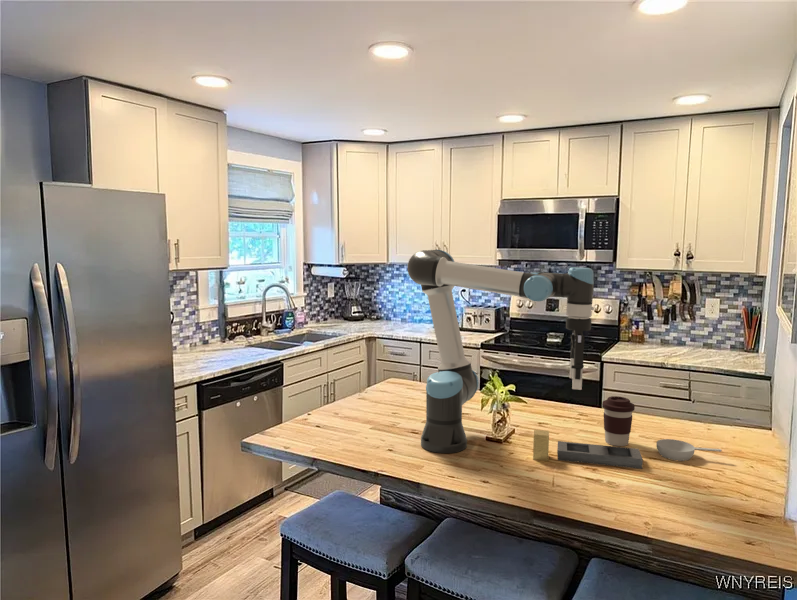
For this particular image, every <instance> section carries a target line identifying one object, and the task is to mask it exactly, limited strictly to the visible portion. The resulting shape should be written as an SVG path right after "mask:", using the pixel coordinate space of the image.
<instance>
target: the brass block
mask: <svg viewBox="0 0 797 600" xmlns="http://www.w3.org/2000/svg"><path fill="white" fill-rule="evenodd" d="M549 443H550V431H549V430H544V429H542V430H541V429H533V448H532V450H533V451H532V460H533V461H544V462H549V449H550V445H549Z"/></svg>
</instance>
